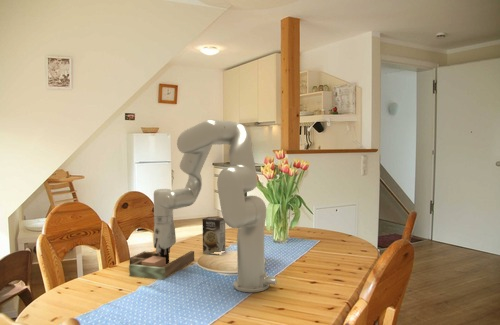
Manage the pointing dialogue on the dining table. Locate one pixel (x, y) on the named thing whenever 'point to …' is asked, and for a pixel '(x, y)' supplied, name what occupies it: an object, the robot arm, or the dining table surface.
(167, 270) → the channel
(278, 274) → the dining table surface
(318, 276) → the dining table surface
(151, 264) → the block
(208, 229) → the coffee box
